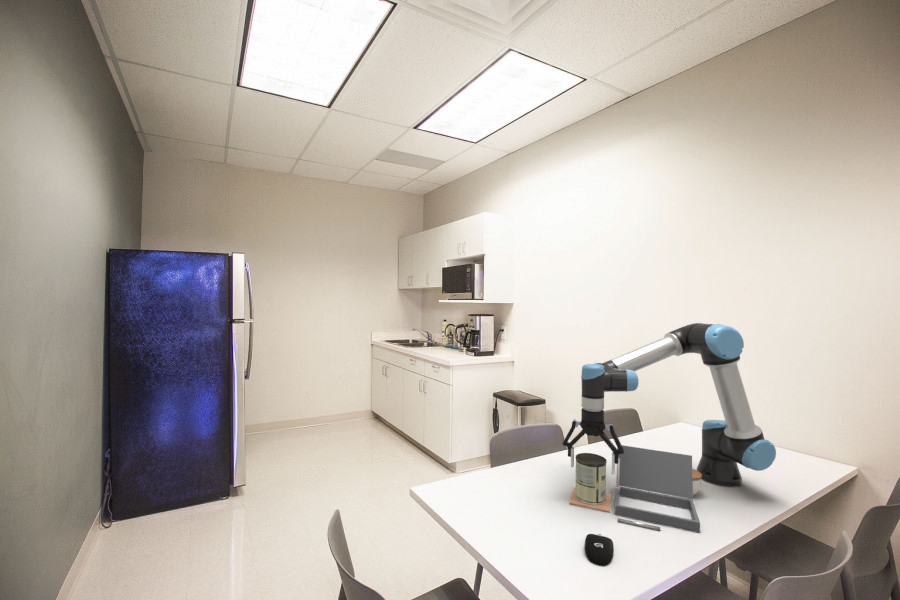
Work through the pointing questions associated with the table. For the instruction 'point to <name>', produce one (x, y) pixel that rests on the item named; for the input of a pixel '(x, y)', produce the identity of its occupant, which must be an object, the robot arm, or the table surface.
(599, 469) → the coffee can
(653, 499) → the case
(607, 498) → the pad
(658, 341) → the robot arm
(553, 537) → the table surface
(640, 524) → the rod
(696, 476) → the lidded jar
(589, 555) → the computer mouse
